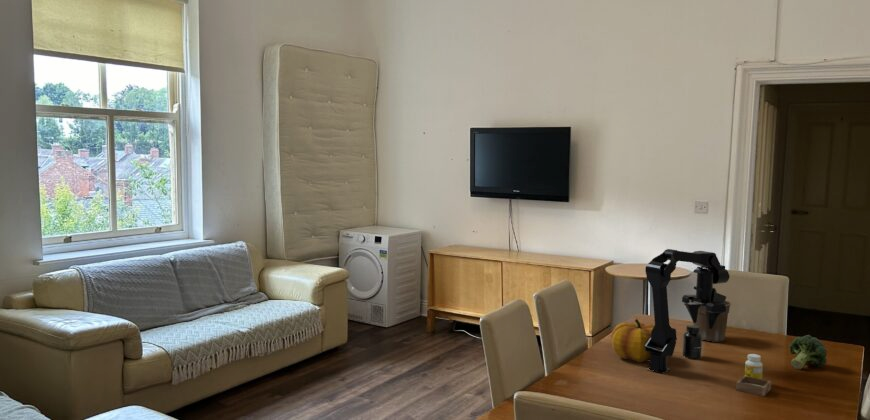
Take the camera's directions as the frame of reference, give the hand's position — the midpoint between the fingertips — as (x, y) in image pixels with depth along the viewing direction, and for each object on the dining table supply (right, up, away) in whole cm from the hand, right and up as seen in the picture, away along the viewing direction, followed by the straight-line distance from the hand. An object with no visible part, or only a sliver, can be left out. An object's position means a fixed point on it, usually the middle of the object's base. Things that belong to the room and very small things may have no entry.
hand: (702, 325), depth 250 cm
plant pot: (+16, -12, +33) cm, 39 cm away
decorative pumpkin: (-23, -13, +5) cm, 27 cm away
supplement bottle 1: (-1, -13, +7) cm, 15 cm away
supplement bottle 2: (+8, -16, -23) cm, 29 cm away
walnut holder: (+5, -16, -30) cm, 34 cm away
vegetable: (+37, -15, -4) cm, 40 cm away
